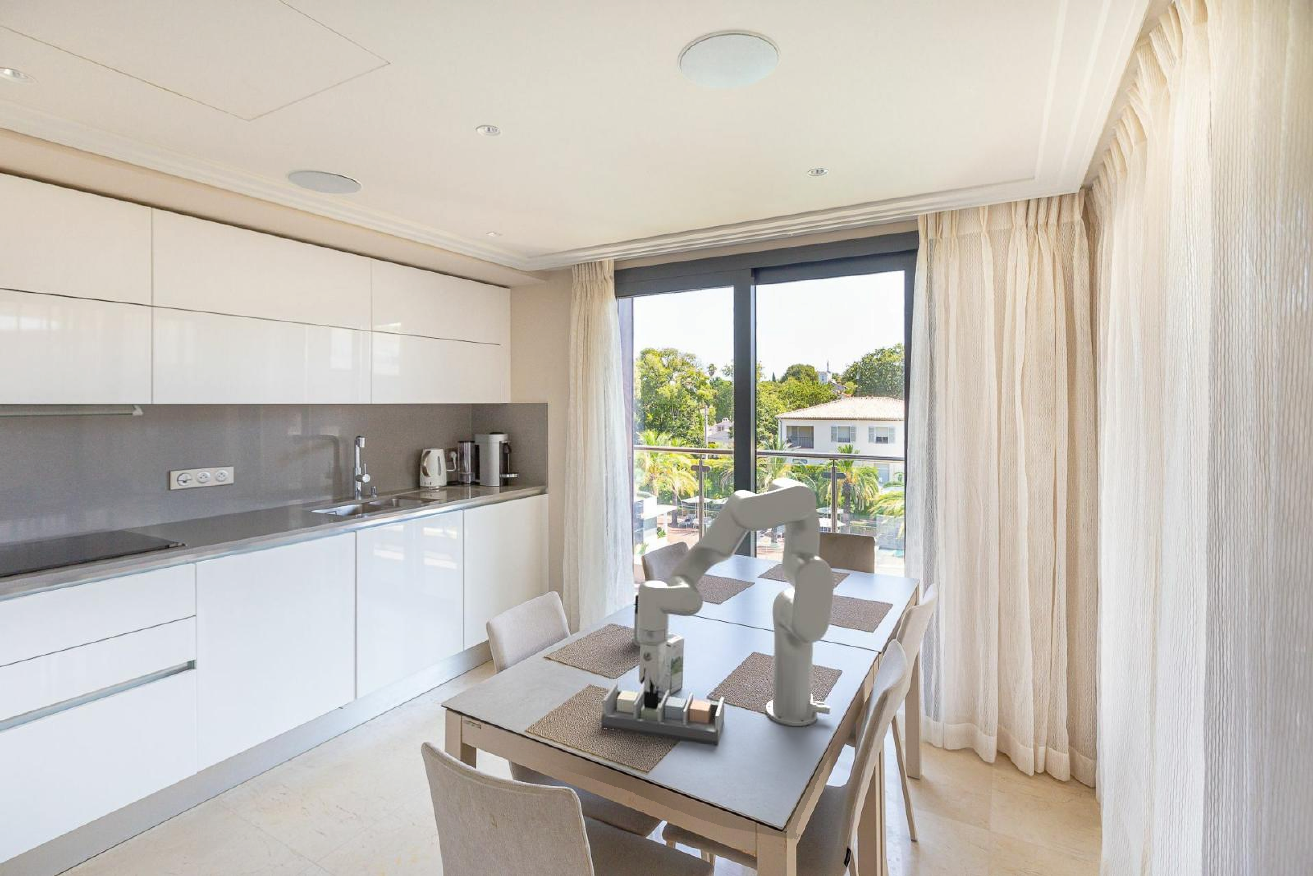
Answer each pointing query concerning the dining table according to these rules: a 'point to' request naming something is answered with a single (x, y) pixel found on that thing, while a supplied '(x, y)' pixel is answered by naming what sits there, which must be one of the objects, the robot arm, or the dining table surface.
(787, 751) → the dining table surface
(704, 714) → the light orange square block
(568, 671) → the dining table surface
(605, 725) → the slotted cube rack
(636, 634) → the glass holder
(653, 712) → the key sage
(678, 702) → the pale blue block
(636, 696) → the cream block
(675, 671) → the syrup box
